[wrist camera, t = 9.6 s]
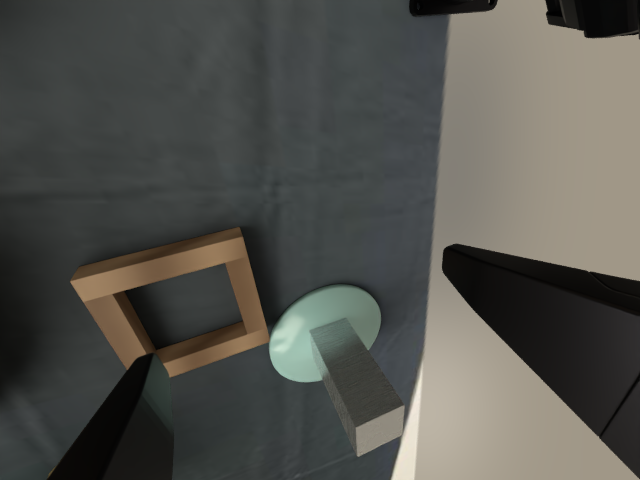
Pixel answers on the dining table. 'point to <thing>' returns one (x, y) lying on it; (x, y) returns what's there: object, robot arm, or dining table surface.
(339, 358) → the steel bar
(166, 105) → the dining table surface
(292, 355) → the teal coaster
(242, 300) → the walnut collar
